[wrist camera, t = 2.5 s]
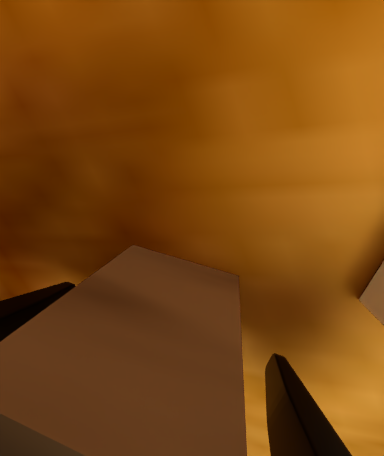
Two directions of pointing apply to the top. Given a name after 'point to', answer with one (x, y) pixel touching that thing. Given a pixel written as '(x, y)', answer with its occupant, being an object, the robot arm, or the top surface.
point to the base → (375, 295)
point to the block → (129, 365)
